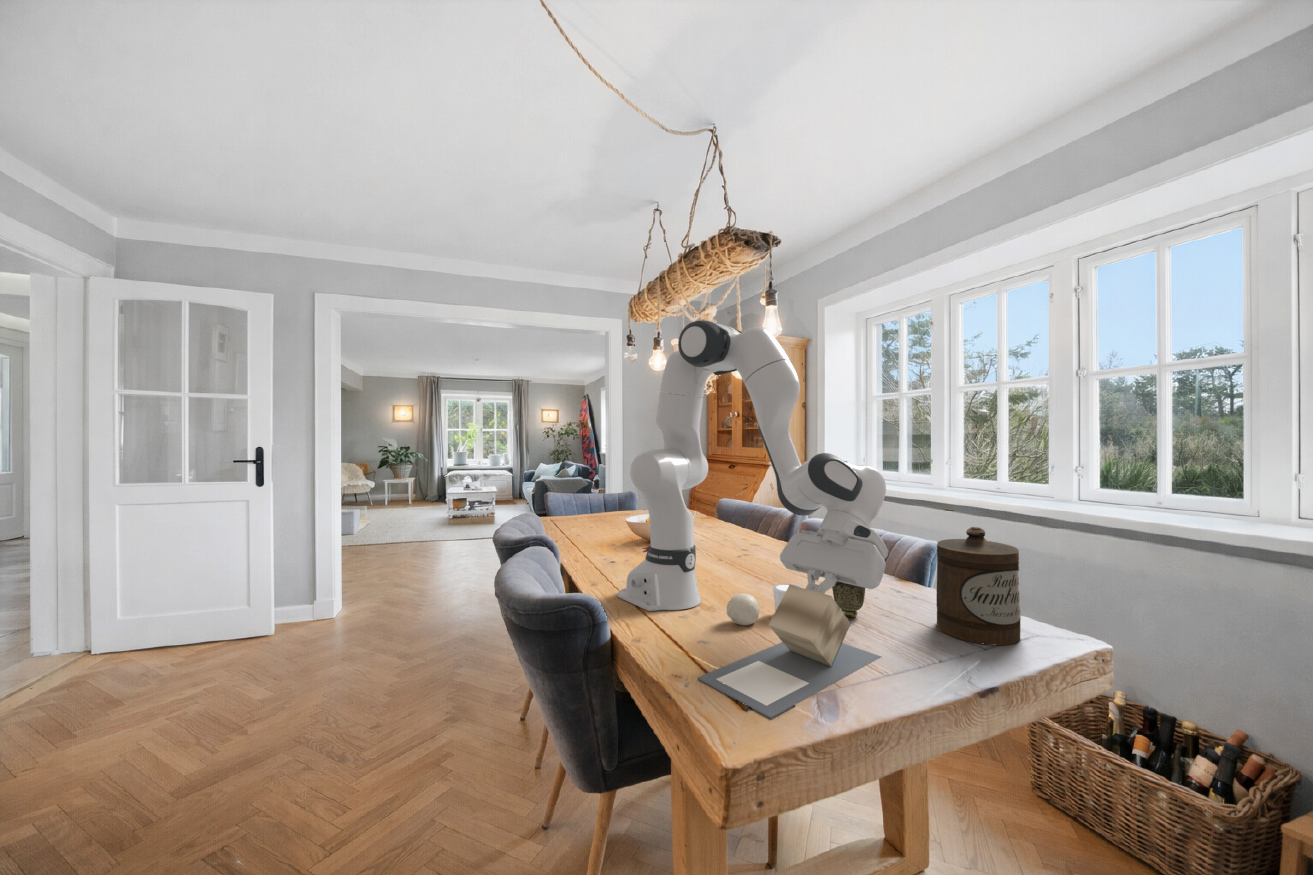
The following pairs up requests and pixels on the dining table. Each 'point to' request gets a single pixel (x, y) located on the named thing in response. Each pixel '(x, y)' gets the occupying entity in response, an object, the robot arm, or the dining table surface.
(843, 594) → the cup
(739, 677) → the charcoal mat
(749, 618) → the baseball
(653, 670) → the dining table surface
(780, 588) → the white cylindrical piece
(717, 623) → the dining table surface
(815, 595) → the maple cube
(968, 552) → the wooden container
